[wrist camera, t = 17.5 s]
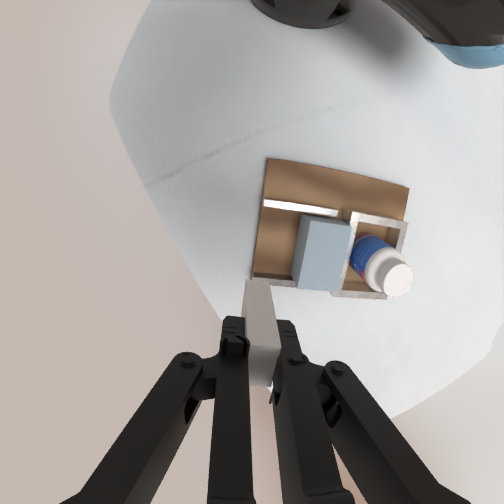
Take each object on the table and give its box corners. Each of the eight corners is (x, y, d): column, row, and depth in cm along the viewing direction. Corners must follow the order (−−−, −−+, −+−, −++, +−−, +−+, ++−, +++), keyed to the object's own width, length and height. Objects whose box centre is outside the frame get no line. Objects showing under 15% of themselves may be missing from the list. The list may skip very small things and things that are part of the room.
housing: (301, 212, 33) (310, 220, 28) (338, 218, 33) (352, 226, 29) (290, 273, 35) (297, 288, 31) (326, 276, 35) (336, 291, 31)
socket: (343, 207, 33) (352, 211, 30) (396, 217, 33) (408, 222, 30) (325, 286, 36) (332, 296, 33) (377, 290, 37) (386, 299, 34)
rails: (263, 197, 32) (264, 199, 30) (333, 208, 33) (338, 210, 31) (252, 277, 35) (252, 283, 34) (317, 283, 36) (321, 289, 34)
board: (267, 158, 32) (268, 158, 30) (404, 187, 33) (409, 188, 32) (250, 279, 37) (251, 283, 35) (379, 290, 38) (383, 293, 37)
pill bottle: (337, 258, 35) (367, 291, 26) (359, 224, 33) (397, 247, 24) (365, 276, 36) (398, 310, 27) (386, 244, 35) (425, 271, 25)
